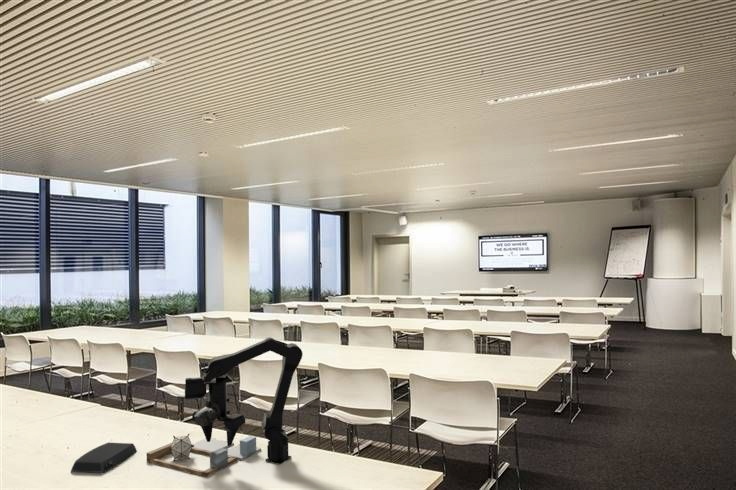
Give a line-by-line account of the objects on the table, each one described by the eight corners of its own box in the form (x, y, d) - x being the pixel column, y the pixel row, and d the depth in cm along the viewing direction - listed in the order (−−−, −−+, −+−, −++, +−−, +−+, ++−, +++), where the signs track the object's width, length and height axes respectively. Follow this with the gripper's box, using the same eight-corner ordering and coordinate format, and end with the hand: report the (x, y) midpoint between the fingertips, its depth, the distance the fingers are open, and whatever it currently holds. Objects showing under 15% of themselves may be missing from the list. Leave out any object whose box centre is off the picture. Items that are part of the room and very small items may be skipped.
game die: (184, 471, 183) (183, 454, 177) (163, 461, 184) (161, 444, 179) (199, 450, 190) (199, 433, 184) (179, 440, 191) (178, 423, 186)
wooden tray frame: (237, 460, 181) (237, 444, 181) (206, 477, 169) (205, 459, 169) (179, 447, 195) (179, 432, 195) (146, 461, 182) (146, 445, 182)
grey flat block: (261, 450, 190) (260, 435, 190) (241, 460, 181) (241, 444, 181) (208, 439, 203) (207, 424, 203) (187, 448, 194) (187, 433, 194)
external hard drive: (68, 473, 175) (68, 461, 175) (106, 451, 194) (106, 440, 194) (104, 475, 173) (104, 463, 173) (139, 453, 192) (139, 441, 192)
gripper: (178, 399, 173) (179, 447, 173) (220, 406, 164) (222, 457, 164) (204, 391, 183) (205, 436, 183) (245, 397, 174) (247, 445, 174)
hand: (219, 443), depth 176 cm, fingers open, 9 cm apart
